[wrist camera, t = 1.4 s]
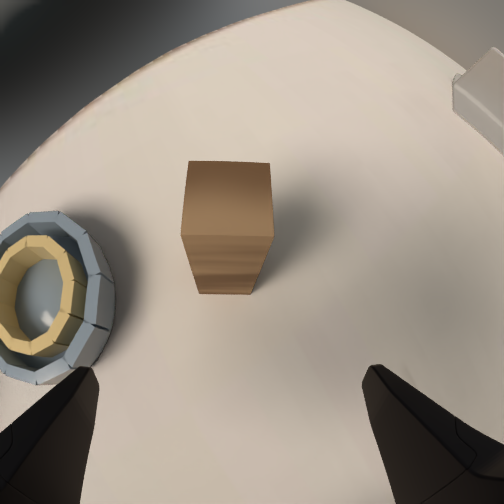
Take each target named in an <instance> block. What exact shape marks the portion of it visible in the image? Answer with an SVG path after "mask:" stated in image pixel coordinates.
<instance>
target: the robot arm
mask: <svg viewBox="0 0 504 504" xmlns="http://www.w3.org/2000/svg"><path fill="white" fill-rule="evenodd" d="M362 389H363V393H364V398H365V402H366V406H367V411H368V416H369V420H370V424H371V427H372V430H373V433H374V436H375V439H376V442H377V445H378V448H379V451H380V454H381V457H382V460H383V463H384V466H385V470H386V473H387V476H388V479H389V482H390V486H391V489H392V492H393V496H394V499H395V503H396V504H504V445H503V444H502V443H500V442H498V441H496V440H494V439H492V438H490V437H488V436H486V435H484V434H483V433H481V432H479V431H477V430H476V429H474V428H472V427H471V426H469V425H468V424H466V423H464V422H463V421H461V420H460V419H459V418H457V417H454V415H453V414H451V413H450V412H448V411H447V410H446V409H444V408H443V407H441V406H440V405H438V404H437V403H435V402H434V401H433V400H431V399H430V398H428V397H427V396H426V395H424V394H423V393H421V392H420V391H418V390H417V389H416V388H414V387H413V386H411V385H410V384H409V383H407V382H406V381H404V380H403V379H401V378H400V377H399V376H397V375H396V374H394V373H393V372H392V371H390V370H389V369H387V368H386V367H385V366H383V365H381V364H376V365H371V366H370V367H369V368H368V370H367V372H366V374H365V377H364V379H363V381H362ZM98 396H99V383H98V381H97V378H96V376H95V374H94V371H93V369H92V368H91V367H87V366H79V367H78V368H76V369H75V370H74V371H73V372H72V373H70V374H69V375H68V376H67V377H66V378H64V379H63V380H62V381H61V382H60V383H58V384H57V385H56V386H55V387H54V388H52V389H51V390H50V391H49V392H48V393H46V394H45V395H44V396H43V397H42V398H41V399H39V400H38V401H37V402H36V403H35V404H33V405H32V406H31V407H30V408H29V409H28V410H26V411H25V412H24V413H23V414H22V415H21V416H19V417H18V418H17V419H16V420H15V421H14V422H12V424H10V425H9V426H8V427H7V428H5V429H4V430H3V431H2V432H1V433H0V504H80V499H81V492H82V486H83V480H84V474H85V469H86V463H87V458H88V454H89V449H90V444H91V440H92V435H93V431H94V425H95V417H96V410H97V402H98Z"/></svg>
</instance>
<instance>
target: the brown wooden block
mask: <svg viewBox="0 0 504 504" xmlns="http://www.w3.org/2000/svg"><path fill="white" fill-rule="evenodd" d="M181 238H182V241H183V244H184V248H185V251H186V254H187V257H188V260H189V264H190V267H191V270H192V273H193V276H194V279H195V282H196V285H197V288H198V291H199V294H246V295H250V294H251V292H252V290H253V287H254V285H255V282H256V280H257V277H258V275H259V273H260V270H261V268H262V265H263V263H264V260H265V258H266V256H267V253H268V251H269V248H270V246H271V243H272V241H273V238H274V223H273V206H272V190H271V174H270V163H255V162H229V161H189V163H188V171H187V178H186V187H185V196H184V205H183V214H182V225H181Z"/></svg>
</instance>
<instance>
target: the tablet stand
mask: <svg viewBox="0 0 504 504" xmlns="http://www.w3.org/2000/svg"><path fill="white" fill-rule="evenodd" d="M452 97H453V112H454V113H455V114H456V115H458V116H459V117H460V118H461V119H463V120H464V121H465V122H466V123H468V124H469V125H470V126H471V127H472V128H474V129H475V130H476V131H477V132H478V133H479V134H480V135H482V136H483V137H484V138H485V139H486V140H487V141H488V142H489V143H490V144H491V145H492V146H494V147H495V148H496V149H497V150H498V151H499V152H500V153H501V154H502V155H503V156H504V54H503V53H501V52H500V51H499V50H498V49H497V48H495V47H492V48H491V49H490V50H489V51H487V52H486V53H485V54H484V55H483V56H482V57H481V58H480V59H479V60H478V61H477V62H476V63H475V64H474V65H473V66H472V67H471V68H469V69H468V70H467V71H466V72H465V73H464V74H463V75H460V74H459V73H457V74H456V75H455V77H454V80H453V83H452Z"/></svg>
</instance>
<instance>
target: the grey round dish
mask: <svg viewBox="0 0 504 504" xmlns="http://www.w3.org/2000/svg"><path fill="white" fill-rule="evenodd" d="M1 233H2V235H1V234H0V370H1V371H2V372H3V374H6V376H9V377H11V378H14V379H17V380H20V381H24V382H27V383H30V384H33V385H53V384H58V383H60V382H61V381H62V380H63V379H64V378H66V377H67V376H68V375H69V374H70V373H72V372H73V371H74V370H75V369H76V368H78V367H79V366H87V367H90V366H91V365H92V364H93V363H94V362H95V361H96V359H97V358H98V357H99V355H100V354H101V352H102V351H103V349H104V347H105V345H106V343H107V341H108V338H109V335H110V332H111V329H112V325H113V321H114V314H115V286H114V281H113V276H112V273H111V270H110V267H109V265H108V263H107V260H106V258H105V257H104V255H103V252H102V249H101V247H100V246H99V245H98V244H97V242H96V241H95V240H94V239H93V238H92V237H91V236H90V235H89V234H88V233H87V231H86V230H84V229H83V228H82V227H80V226H79V225H78V224H76V223H75V222H74V221H72V220H71V219H70V218H68V217H67V216H66V215H64V214H63V213H62V212H59V211H48V212H30V213H29V214H28V213H27V214H26V215H24V216H23V217H21V218H20V219H19V220H17V221H16V222H14V223H13V224H11V225H10V226H9V227H7V228H6V229H5V230H3V231H2V232H1Z"/></svg>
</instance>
